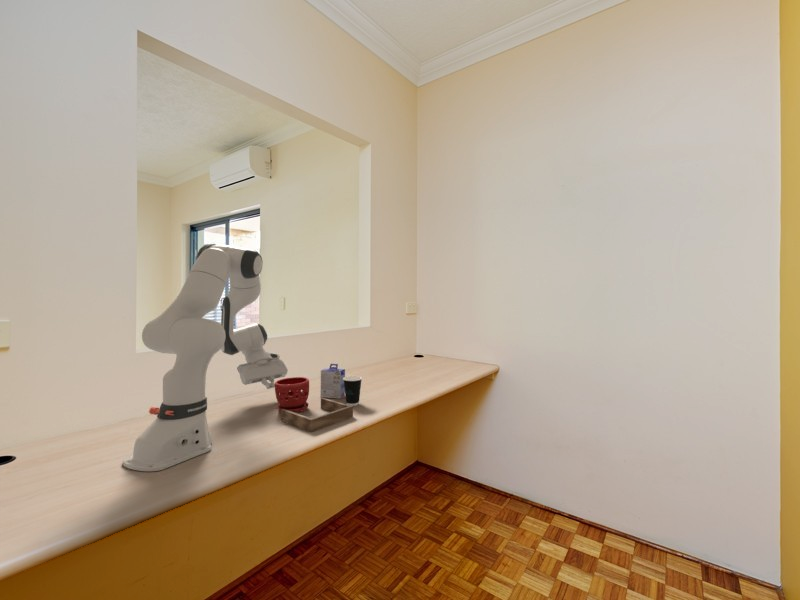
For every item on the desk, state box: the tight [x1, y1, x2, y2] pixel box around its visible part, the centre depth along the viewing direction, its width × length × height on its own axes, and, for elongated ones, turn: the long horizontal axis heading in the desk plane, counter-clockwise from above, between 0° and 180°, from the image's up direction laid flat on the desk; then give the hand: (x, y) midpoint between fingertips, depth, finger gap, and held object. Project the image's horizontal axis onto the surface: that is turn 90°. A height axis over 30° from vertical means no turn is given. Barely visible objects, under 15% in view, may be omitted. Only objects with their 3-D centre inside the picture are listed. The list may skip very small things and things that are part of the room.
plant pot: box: [274, 376, 310, 414], centre depth 146 cm, size 13×13×12 cm
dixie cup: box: [343, 375, 363, 407], centre depth 154 cm, size 8×8×11 cm
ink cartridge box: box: [319, 363, 346, 400], centre depth 164 cm, size 10×6×14 cm, turn 78°
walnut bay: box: [280, 397, 354, 433], centre depth 136 cm, size 17×19×4 cm
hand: (271, 387), depth 154 cm, fingers closed
